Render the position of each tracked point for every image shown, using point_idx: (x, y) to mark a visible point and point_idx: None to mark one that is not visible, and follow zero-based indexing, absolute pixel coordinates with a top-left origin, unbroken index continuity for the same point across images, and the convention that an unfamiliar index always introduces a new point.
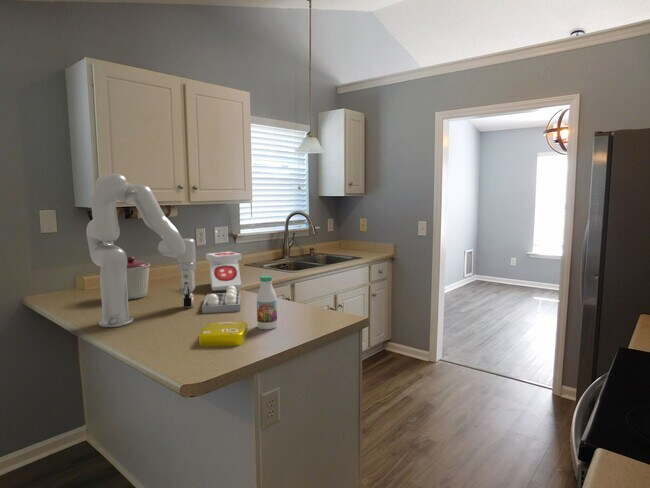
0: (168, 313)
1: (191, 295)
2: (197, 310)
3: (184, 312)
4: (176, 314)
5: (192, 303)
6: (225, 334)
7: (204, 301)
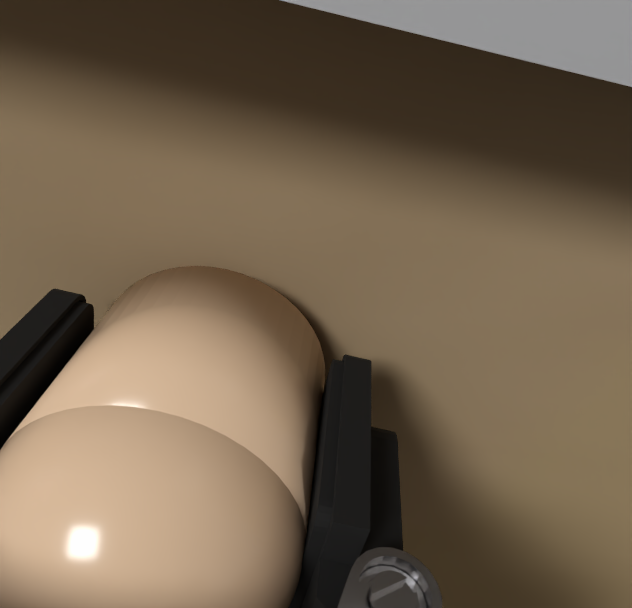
0: (474, 604)
1: (227, 550)
2: (587, 226)
3: (569, 448)
4: (611, 545)
5: (287, 350)
6: None
7: (482, 31)
